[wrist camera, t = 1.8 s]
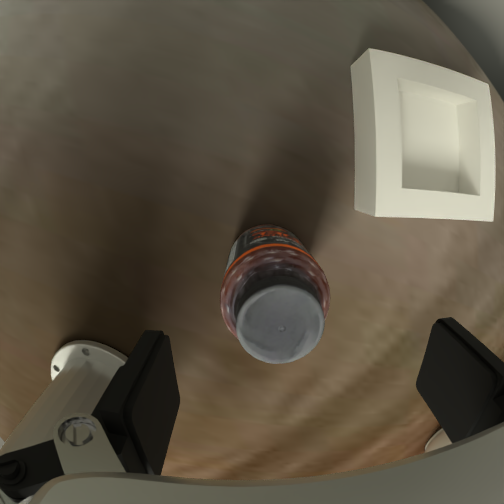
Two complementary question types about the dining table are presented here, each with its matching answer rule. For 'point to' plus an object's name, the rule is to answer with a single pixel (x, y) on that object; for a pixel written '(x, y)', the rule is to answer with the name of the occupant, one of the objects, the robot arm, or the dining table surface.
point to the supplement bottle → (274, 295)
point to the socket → (421, 140)
